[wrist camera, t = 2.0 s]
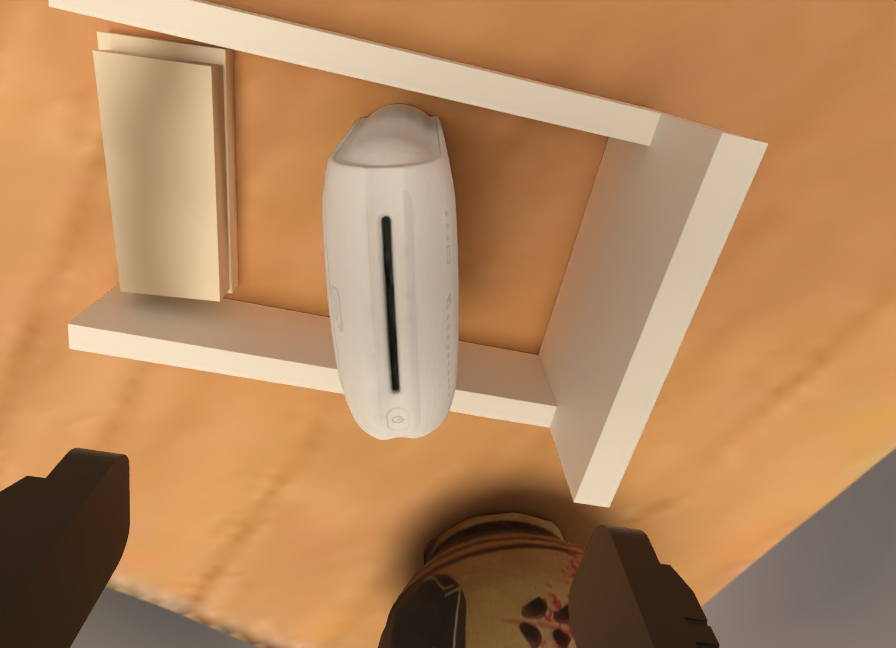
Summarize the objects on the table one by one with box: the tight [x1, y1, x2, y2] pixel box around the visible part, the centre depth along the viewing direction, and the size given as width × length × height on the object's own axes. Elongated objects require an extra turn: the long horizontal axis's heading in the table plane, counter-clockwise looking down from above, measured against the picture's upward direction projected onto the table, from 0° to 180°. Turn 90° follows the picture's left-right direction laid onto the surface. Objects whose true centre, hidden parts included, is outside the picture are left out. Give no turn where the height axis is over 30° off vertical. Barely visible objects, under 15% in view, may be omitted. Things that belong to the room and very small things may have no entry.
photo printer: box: [322, 104, 459, 440], centre depth 23 cm, size 10×4×12 cm, turn 1°
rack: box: [49, 0, 768, 508], centre depth 24 cm, size 23×14×10 cm, turn 78°
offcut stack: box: [93, 32, 238, 302], centre depth 26 cm, size 5×11×3 cm, turn 173°
